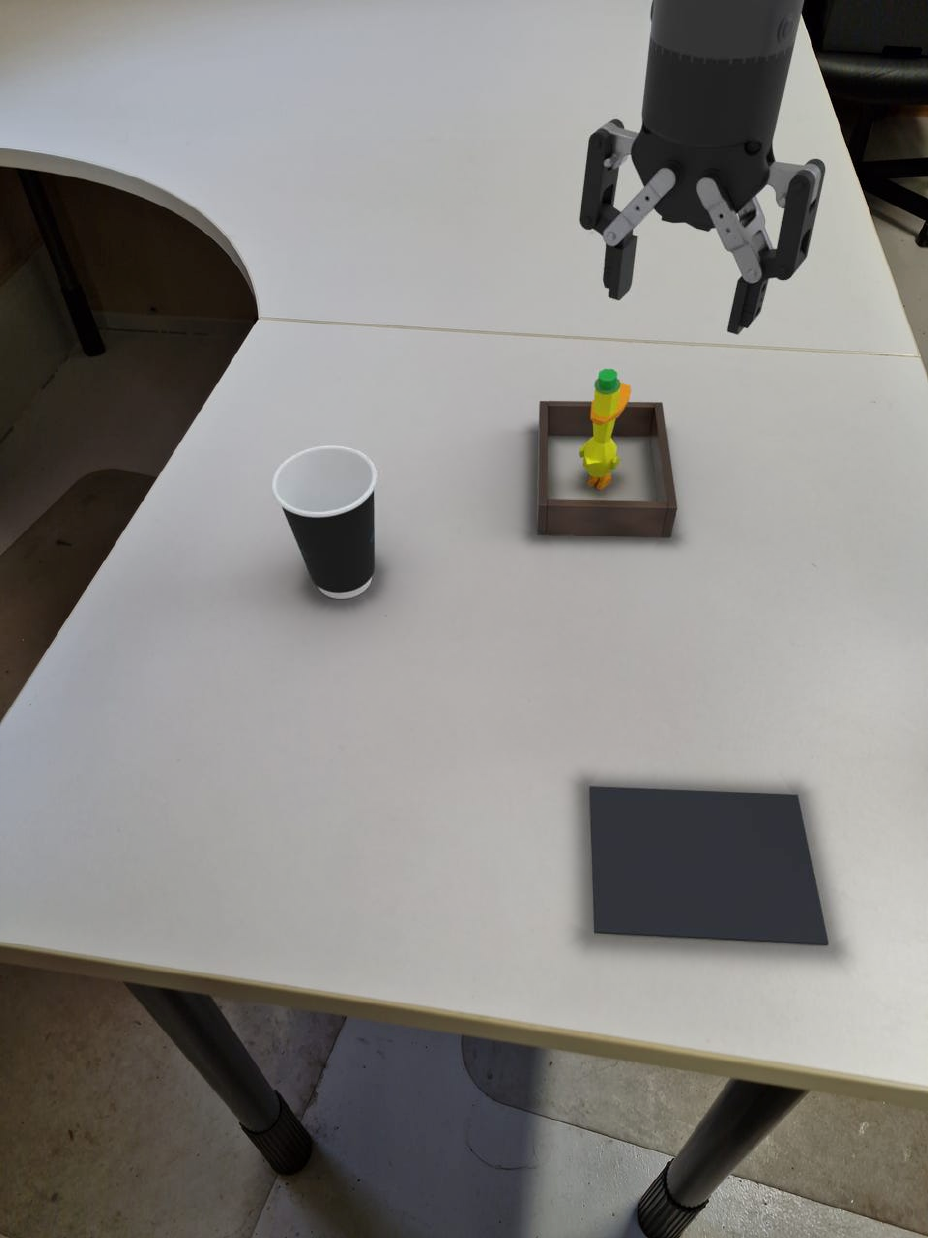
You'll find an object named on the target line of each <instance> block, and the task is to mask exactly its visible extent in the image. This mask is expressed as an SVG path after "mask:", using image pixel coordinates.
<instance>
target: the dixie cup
mask: <svg viewBox="0 0 928 1238" xmlns="http://www.w3.org/2000/svg"><path fill="white" fill-rule="evenodd" d="M377 483H378V471H377V467H376V465H375V464H374V462H373V460H372V459H370V457H369V456H367V455H366V454H365V453H363V452H362V451H360V450H357V449H356V448H352V447H348V446H344V445H336V444H335V445H328V444H327V445H319V446H313V447H309V448H306V449H304V450H301V451H298V452H296V453H294V454H293V455H291V456H290V457H288V458H287V459H286V460H284V461H283V462H282V463H281V464H280V465H279V466H278V467H277V469H276V470H275V471H274V474H273V476H272V479H271V486H270V487H271V492H272V495H273V498H274V500H275V501H276V502H277V503H278V505H279V506H281V509H282V511H283V513H284V516H285V519H286V520H287V521H286V522H287V523H288V526H289V528H290V530H291V532H292V535H293V538H294V540H295V542H296V545H297V547H298V549H299V552H300V554H301V557H302V559H303V562H304V564H305V566H306V569H307V571H308V573H309V576H310V579H311V580H312V582H313V583H314V585H315V586H316V587H317V588H318V590H319V591H320V592H321V593H322V594H323V595H325V596H326V597H329V598H331V599H337V600H345V599H351V598H354V597H357V596H359V595H360V594H361V595H362V594H363V593H364V592H365V591H366V590H367V589H369V587H370V585H371V583H372V581H373V575H374V573H375V569H376V533H375V531H376V529H375V527H376V525H375V524H376V521H375V520H376V519H375V518H376V517H375V516H376V515H375V509H376V508H375V489H376V487H377Z"/></svg>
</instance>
